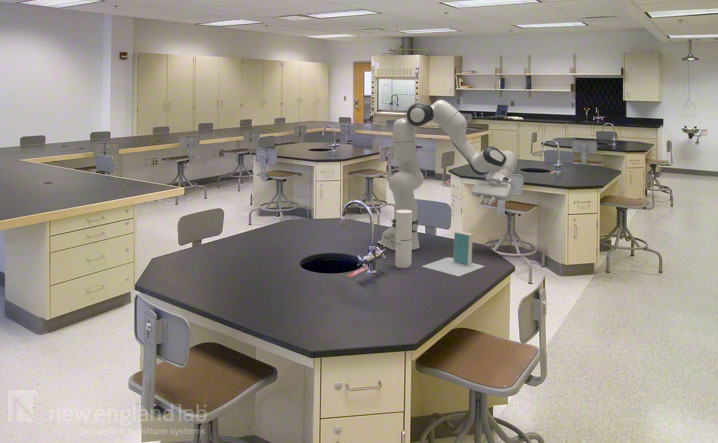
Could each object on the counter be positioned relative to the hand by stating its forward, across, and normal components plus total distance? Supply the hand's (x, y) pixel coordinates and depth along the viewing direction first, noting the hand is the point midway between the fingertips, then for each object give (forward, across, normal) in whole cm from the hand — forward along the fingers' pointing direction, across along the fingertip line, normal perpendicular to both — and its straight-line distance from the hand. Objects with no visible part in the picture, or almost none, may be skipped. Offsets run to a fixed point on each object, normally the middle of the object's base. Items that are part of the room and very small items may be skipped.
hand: (484, 204), depth 261 cm
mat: (+34, 0, +1) cm, 34 cm away
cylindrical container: (+44, -18, -8) cm, 48 cm away
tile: (+29, 0, +6) cm, 29 cm away
